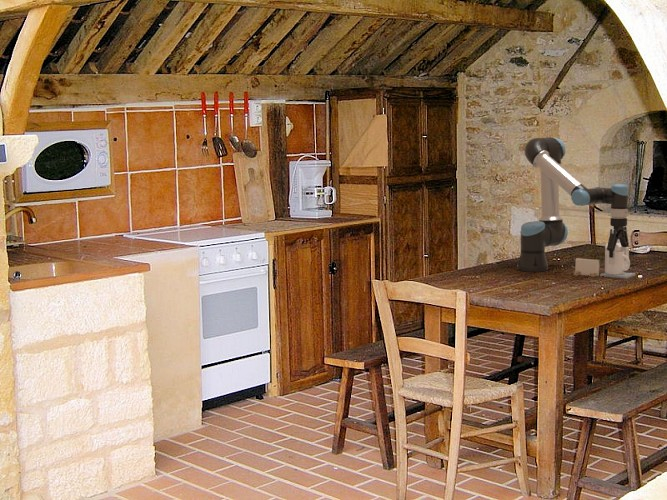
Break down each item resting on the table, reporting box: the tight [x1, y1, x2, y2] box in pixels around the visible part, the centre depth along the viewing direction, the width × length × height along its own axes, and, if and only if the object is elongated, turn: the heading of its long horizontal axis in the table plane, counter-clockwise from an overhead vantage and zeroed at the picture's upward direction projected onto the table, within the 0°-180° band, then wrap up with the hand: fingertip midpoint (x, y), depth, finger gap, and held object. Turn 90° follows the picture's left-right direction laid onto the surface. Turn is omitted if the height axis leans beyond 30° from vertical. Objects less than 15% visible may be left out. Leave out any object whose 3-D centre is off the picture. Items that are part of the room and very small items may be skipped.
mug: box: [604, 250, 631, 275], centre depth 443 cm, size 9×12×11 cm
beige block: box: [573, 257, 600, 278], centre depth 446 cm, size 11×5×8 cm, turn 51°
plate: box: [599, 271, 637, 280], centre depth 444 cm, size 13×11×1 cm
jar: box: [604, 239, 630, 268], centre depth 471 cm, size 12×10×15 cm
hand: (617, 262), depth 443 cm, fingers open, 13 cm apart
